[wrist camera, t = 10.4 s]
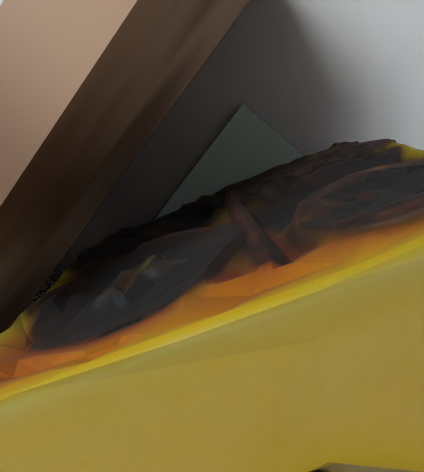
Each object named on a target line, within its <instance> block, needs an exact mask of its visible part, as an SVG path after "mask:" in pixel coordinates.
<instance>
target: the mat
mask: <svg viewBox="0 0 424 472" xmlns="http://www.w3.org/2000/svg"><path fill="white" fill-rule="evenodd" d="M303 156H304V155H303V154H301V153H300V152H299V151H298V150H297V149H296V148H294V147H293V146H292V145H291V144H290V143H289V142H287V141H286V140H285V139H284V138H283V137H282V136H280V135H279V134H278V133H277V132H276V131H275V130H273V129H272V128H271V127H270V126H269V125H268V124H266V123H265V122H264V121H263V120H262V119H261V118H259V117H258V116H257V115H256V114H255V113H254V112H252V111H251V110H250V109H249V108H248V107H247V106H245V105H244V104H242V105H241V107H240V108H239V109H238V111H237V112H236V113H235V115H234V116H233V117H232V118H231V120H230V121H229V122H228V124H227V125H226V126H225V128H224V129H223V130H222V132H221V133H220V134H219V135H218V137H217V138H216V139H215V141H214V142H213V143H212V145H211V146H210V147H209V149H208V150H207V151H206V152H205V154H204V155H203V156H202V158H201V159H200V160H199V162H198V163H197V164H196V165H195V167H194V168H193V169H192V171H191V172H190V173H189V175H188V176H187V177H186V179H185V180H184V181H183V182H182V184H181V185H180V186H179V188H178V189H177V190H176V192H175V193H174V194H173V196H172V197H171V198H170V199H169V201H168V202H167V203H166V205H165V206H164V207H163V209H162V210H161V211H160V213H159V214H158V215H157V216H156V218H155V219H157V218H159V217H162V216H164V215H166V214H169V213H171V212H174V211H176V210H178V209H180V207H181V206H182V205H183V204H187V203H191V202H195V201H196V200H197V199H198V198H199V197H200V196H202V195H210V196H212V195H213V194H215V193H216V192H218V191H220V190H221V189H222V188H224V187H226V186H228V185H231V184H233V183H236V182H239V181H242V180H245V179H248V178H251V177H253V176H256V175H258V174H260V173H262V172H264V171H266V170H268V169H270V168H272V167H274V166H277V165H282V164H287V163H290V162H291V161H293V160H294V159H297V158H300V157H303ZM155 219H154V220H155Z"/></svg>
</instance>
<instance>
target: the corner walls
mask: <svg viewBox="0 0 424 472" xmlns="http://www.w3.org/2000/svg"><path fill="white" fill-rule="evenodd" d="M249 1H250V0H4V1H3V3H2V5H1V6H0V334H1V333H3V332H4V331H6V330H7V329H9V328H10V327H11V326H12V324H13V323H14V322H15V320H16V319H17V318H18V316H19V315H20V314H21V313H22V312H23V311H25V309H26V308H27V306H28V305H29V304H30V302H31V301H32V299H33V298H34V297H35V295H36V294H37V293H38V291H39V290H40V288H41V287H42V286H43V284H44V283H45V282H46V280H47V279H48V277H49V276H50V275H51V273H52V272H53V271H54V269H55V268H56V266H57V265H58V264H59V262H60V261H61V260H62V258H63V257H64V255H65V254H66V253H67V251H68V250H69V249H70V247H71V246H72V244H73V243H74V242H75V240H76V239H77V238H78V236H79V235H80V233H81V232H82V231H83V229H84V228H85V227H86V225H87V224H88V222H89V221H90V220H91V218H92V217H93V216H94V214H95V213H96V211H97V210H98V209H99V207H100V206H101V205H102V203H103V202H104V200H105V199H106V198H107V196H108V195H109V194H110V192H111V191H112V189H113V188H114V187H115V185H116V184H117V182H118V181H119V180H120V178H121V177H122V176H123V174H124V173H125V171H126V170H127V169H128V167H129V166H130V165H131V163H132V162H133V160H134V159H135V158H136V156H137V155H138V154H139V152H140V151H141V149H142V148H143V147H144V145H145V144H146V143H147V141H148V140H149V138H150V137H151V136H152V134H153V133H154V132H155V130H156V129H157V127H158V126H159V125H160V123H161V122H162V121H163V119H164V118H165V116H166V115H167V114H168V112H169V111H170V110H171V108H172V107H173V105H174V104H175V103H176V101H177V100H178V99H179V97H180V96H181V94H182V93H183V92H184V90H185V89H186V88H187V86H188V85H189V83H190V82H191V81H192V79H193V78H194V77H195V75H196V74H197V72H198V71H199V70H200V68H201V67H202V65H203V64H204V63H205V61H206V60H207V59H208V57H209V56H210V54H211V53H212V52H213V50H214V49H215V48H216V46H217V45H218V43H219V42H220V41H221V39H222V38H223V37H224V35H225V34H226V32H227V31H228V30H229V28H230V27H231V26H232V24H233V23H234V21H235V20H236V19H237V17H238V16H239V15H240V13H241V12H242V10H243V9H244V8H245V6H246V5H247V4H248V2H249Z"/></svg>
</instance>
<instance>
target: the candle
mask: <svg viewBox="0 0 424 472" xmlns="http://www.w3.org/2000/svg"><path fill="white" fill-rule="evenodd" d="M0 472H424V151H423V150H418V149H415V148H412V147H409V146H406V145H403V144H398V143H396V141H395V140H390V139H381V140H374V141H367V142H363V143H359V142H358V141H357V142H342V143H334V144H333V145H332V146H331V147H330V148H329V149H328V150H324V151H321V152H318V153H316V154H313V155H306V156H303V157H300V158H297V159H294V160H293V161H291V162H290V163H287V164H282V165H277V166H274V167H272V168H270V169H268V170H266V171H264V172H262V173H260V174H258V175H256V176H253V177H251V178H248V179H245V180H242V181H239V182H236V183H233V184H231V185H228V186H226V187H224V188H222V189H221V190H220V191H218V192H216V193H215V194H213V195H212V196H210V195H202V196H200V197H199V198H198V199H197V200H196V201H195V202H191V203H187V204H183V205H182V206H181V207H180V209H178V210H176V211H174V212H171V213H169V214H166V215H164V216H162V217H159V218H157V219H155V220H153V221H151V222H149V223H147V224H145V225H143V226H141V227H137V228H122V229H121V230H119V231H118V232H117V233H116V234H115V235H112V236H109V237H106V238H105V239H104V240H103V242H102V243H101V244H98V245H96V246H93V247H91V248H88V249H86V250H84V251H83V252H82V253H81V254H80V255H79V257H78V259H77V261H76V262H74V263H73V264H71V265H69V266H68V267H67V268H66V270H65V271H64V272H63V273H62V275H61V276H60V278H59V279H58V281H57V282H56V283H55V284H54V285H53V286H52V287H51V288H49V289H48V290H47V291H46V292H45V293H44V294H43V295H42V296H41V297H40V298H39V299H38V300H37V301H35V302H34V303H33V304H32V305H31V306H29V307H28V308H27V309H26V310H25V311H23V312H22V313H21V314H20V315H19V316H18V318H17V319H16V320H15V322H14V323H13V324H12V326H11V327H10V328H9V329H7V330H6V331H4V332H3V333H1V334H0Z"/></svg>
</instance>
